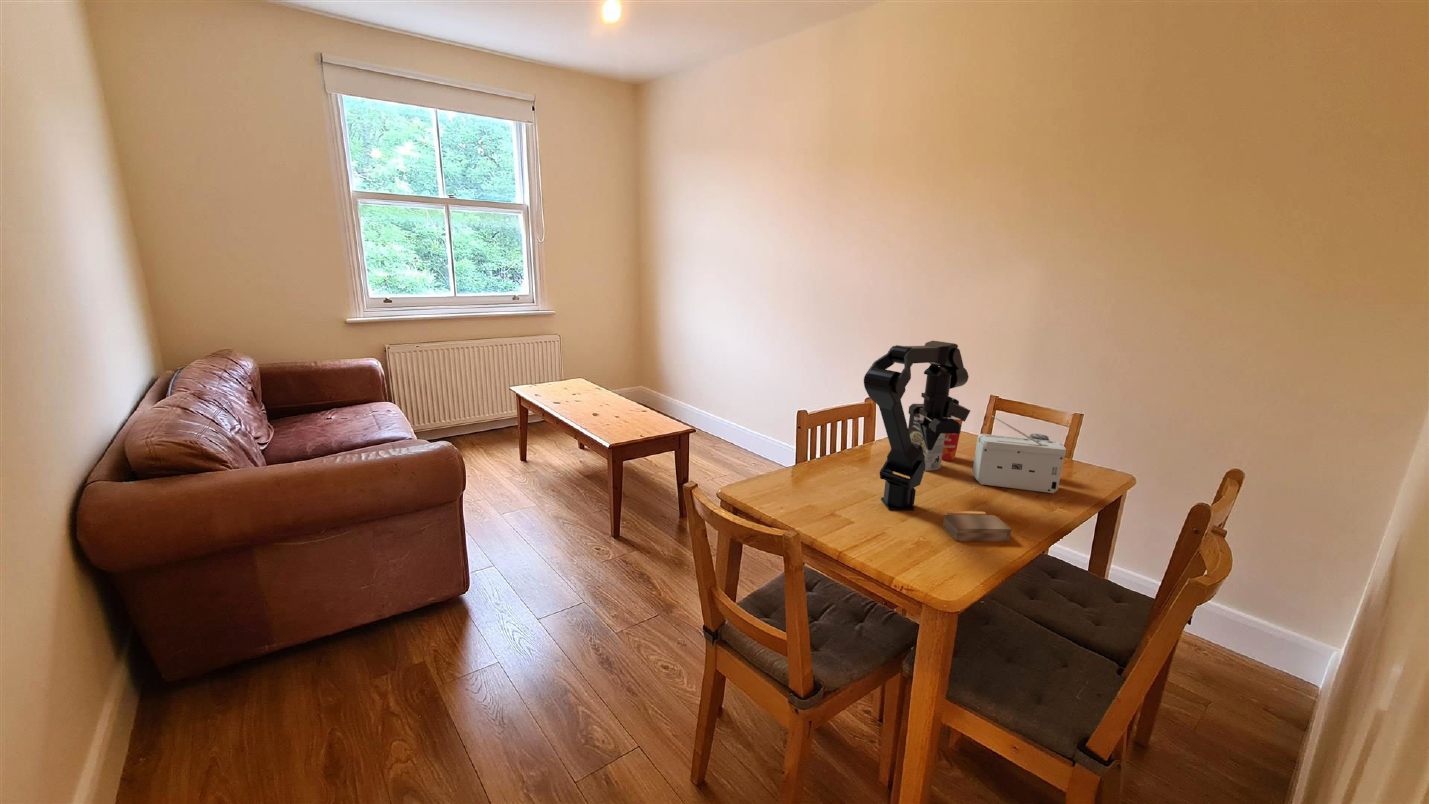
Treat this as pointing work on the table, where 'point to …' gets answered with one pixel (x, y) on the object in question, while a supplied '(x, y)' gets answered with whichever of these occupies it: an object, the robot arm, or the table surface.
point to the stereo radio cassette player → (1018, 462)
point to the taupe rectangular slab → (976, 528)
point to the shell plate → (964, 513)
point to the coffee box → (931, 456)
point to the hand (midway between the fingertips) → (929, 449)
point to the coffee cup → (951, 444)
